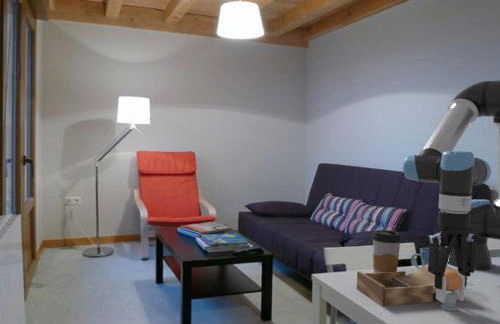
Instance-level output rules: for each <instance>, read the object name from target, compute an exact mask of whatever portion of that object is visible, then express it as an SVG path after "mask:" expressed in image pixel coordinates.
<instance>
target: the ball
mask: <svg viewBox="0 0 500 324" xmlns="http://www.w3.org/2000/svg"><path fill="white" fill-rule="evenodd" d="M444 277H446V278H447V279H446V289H448V290H456V289H458V288H459V287H460V286H461V277H460V276H459V274H458V273H456V272H455V271H451V270H448V271H445V273H444Z"/></svg>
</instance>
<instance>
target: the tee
mask: <svg viewBox="0 0 500 324" xmlns="http://www.w3.org/2000/svg"><path fill="white" fill-rule="evenodd" d="M457 301H458V300H457V293H456V292H455V291H453V292H452V291H447V290H446V298H445V303H442V302H441V304H440V308H441V309H442V310H445V311H449V312H456V311H458V306H457Z"/></svg>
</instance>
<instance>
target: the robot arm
mask: <svg viewBox="0 0 500 324" xmlns="http://www.w3.org/2000/svg"><path fill="white" fill-rule="evenodd" d="M479 117H480V118H482V117H492V118H493V119H492V120H493V123H494V125H496V127H498V198H496V199H495V200H494V201H493V204H491V201H490V200H489V199H472V198H473V196H472V195H473V187H478V186H481V185H483V184H485V183H486V182H487V181H488V180H489V179H490V177H491V174H492V170H491V169H492V168H491V166H490V164H489V163H488V162H487V161H485V160H484V159H482V158H479V157H475V154H474V153H473V152H472V151H465V150H464V151H462V150H459V151H458V150H454V149H455V147H456V146H457V144H458V143H459V141H460V139H461V138H462V137H463V135H464V133H465V132H466V129H467V128H468V127H469V125H470V124H472V123H474V122H475V121H476V120H477V119H478V118H479ZM402 172H403V174H404V177H405V178H406V179H407V180H411V181H416V182H424V183H435V184H436V183H437V184H439V195H438V197H439V198H438V208H439V211H438V216H437V225H438V230H437V232H436V233H435V234H433V235H432V234H429V235H428V236H427V240H428V244H429V246H428V247H429V248H428V260H427V261H428V262H427V264H428V272H430V273H432V274H434V275H435V283H434V286H435V288H436V298H435V300H437V301H439V302H441V304H442V303H445V298H446V279H447V278H446V277H444V273H445V269H446V266H448V264H450V265H451V266H456V267H457V270H458V272H459V273H458V274H459V276H460V277H461V286H460V287H459V288H458V289H456V290H454V291H455V292H456V293H457V299H458V300H457V301H460V302H464V301H465V288H466V287H467V280H468V277H470V276H471V274H473V273H475V271H476V270H488V269H491V268H492V266H493V265H492V263H493V262H492V258H491V255H490V250H489V247H488V239H492V240H498V241H500V80H484V81H479V82H477V83H473V84H471V85H469V86H468V87H466V88H465V89H463V90H462V91H460V92H459V93H458V94H456V96H454V98H453V99H452V100H451V101H450V102H449V104H448V106H447V113H446V114H445V116H444V117H443V118H442V120H441V121H440V123H439V125H438V126H437V127H436V128H435V130H434V132H433V133H432V135H431V137H430V138H429V139H428V140H427V142H426V143H425V145H424V146H423V148H422V149H421V151H420V152H419V154H418V155H417V154H413V155H408V156H406V157H405V159H404V160H403V165H402ZM449 255H450V258H449ZM448 258H449V263H447V262H448Z"/></svg>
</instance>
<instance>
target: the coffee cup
mask: <svg viewBox="0 0 500 324" xmlns="http://www.w3.org/2000/svg"><path fill="white" fill-rule="evenodd" d="M401 239H402V237H401V236H400V233H399V232H398V231H394V230H386V229H378V230H374V234H373V235H372V243H373V244H372V247H373V249H372V250H373V251H372V259H373V260H372V263H373V264H372V265H373V266H372V268H373V273H378V272H398V266H399V257H400V256H399V255H400V246H401V242H402V240H401Z"/></svg>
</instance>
